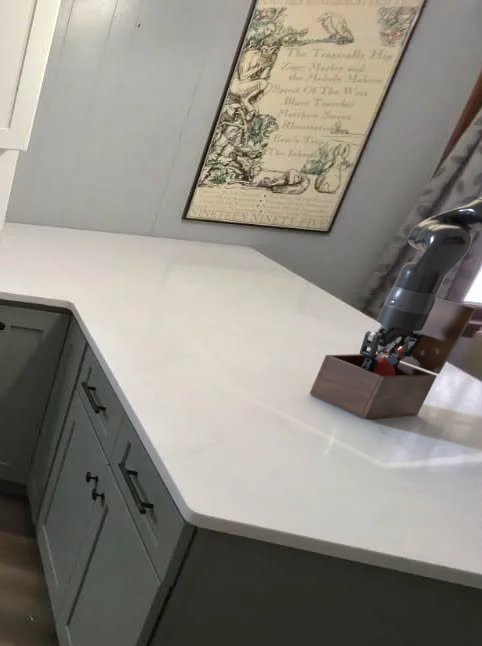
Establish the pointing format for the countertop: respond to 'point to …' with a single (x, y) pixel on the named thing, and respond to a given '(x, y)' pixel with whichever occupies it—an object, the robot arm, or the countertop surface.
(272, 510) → the countertop surface
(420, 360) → the lid
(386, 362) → the onion
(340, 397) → the chest
